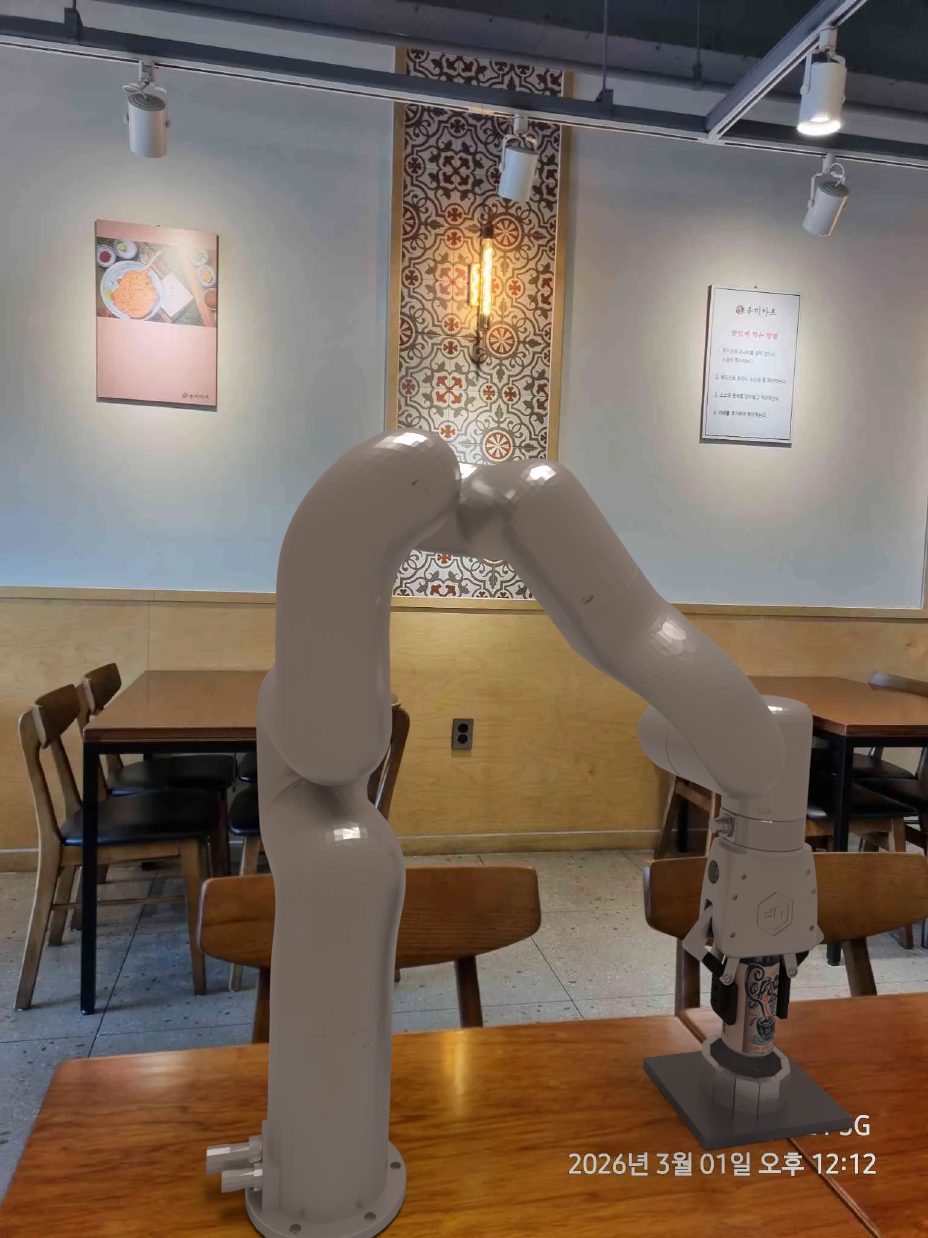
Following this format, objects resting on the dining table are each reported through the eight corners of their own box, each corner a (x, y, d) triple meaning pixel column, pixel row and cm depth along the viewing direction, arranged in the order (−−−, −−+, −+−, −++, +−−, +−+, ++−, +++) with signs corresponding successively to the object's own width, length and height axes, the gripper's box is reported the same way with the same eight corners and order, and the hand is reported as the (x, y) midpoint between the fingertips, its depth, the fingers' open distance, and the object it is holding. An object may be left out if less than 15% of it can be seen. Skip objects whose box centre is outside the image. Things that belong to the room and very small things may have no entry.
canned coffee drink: (756, 1068, 77) (765, 941, 76) (710, 1043, 80) (718, 923, 79) (782, 1048, 80) (791, 927, 79) (737, 1026, 84) (745, 910, 83)
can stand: (705, 1151, 73) (708, 1107, 73) (642, 1067, 84) (645, 1029, 84) (852, 1128, 77) (855, 1086, 76) (772, 1051, 88) (775, 1014, 88)
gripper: (701, 847, 73) (688, 1047, 74) (867, 837, 77) (852, 1027, 78) (660, 819, 80) (649, 1002, 81) (813, 812, 84) (801, 986, 86)
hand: (749, 1012), depth 80 cm, fingers closed on canned coffee drink, 4 cm apart
